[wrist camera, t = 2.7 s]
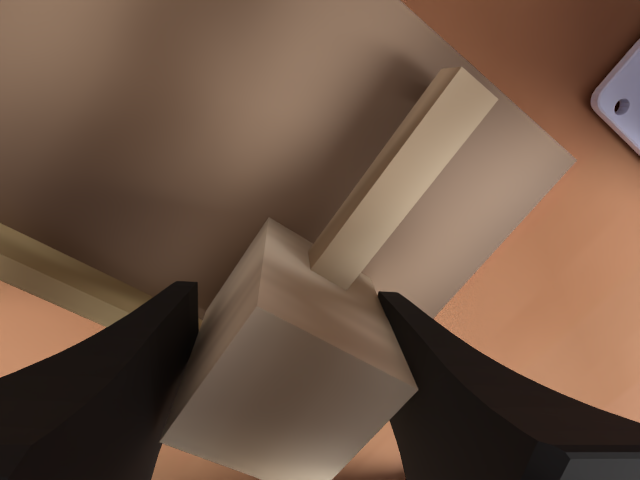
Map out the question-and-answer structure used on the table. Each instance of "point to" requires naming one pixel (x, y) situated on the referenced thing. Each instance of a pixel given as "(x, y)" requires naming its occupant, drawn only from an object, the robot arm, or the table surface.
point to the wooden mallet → (317, 318)
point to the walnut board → (233, 145)
